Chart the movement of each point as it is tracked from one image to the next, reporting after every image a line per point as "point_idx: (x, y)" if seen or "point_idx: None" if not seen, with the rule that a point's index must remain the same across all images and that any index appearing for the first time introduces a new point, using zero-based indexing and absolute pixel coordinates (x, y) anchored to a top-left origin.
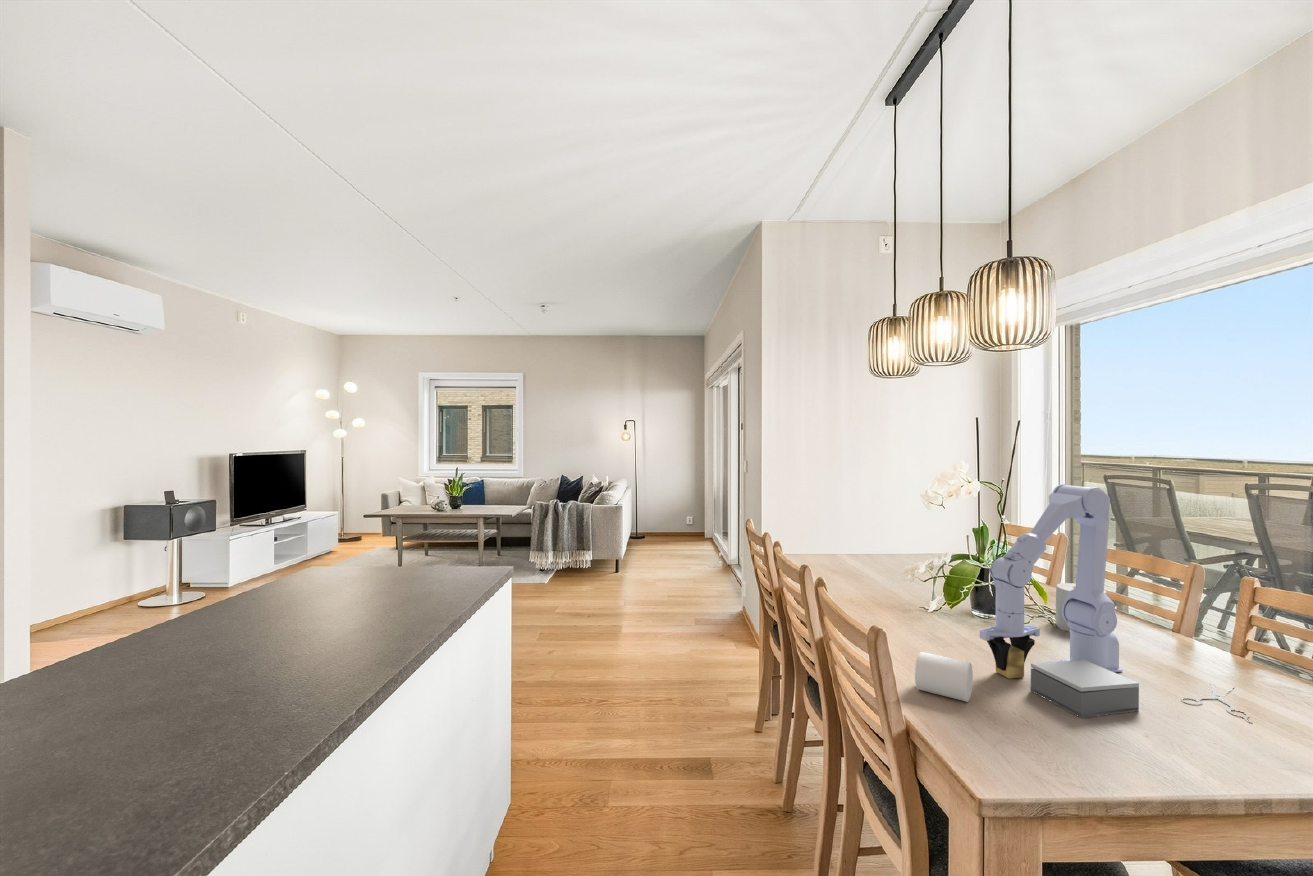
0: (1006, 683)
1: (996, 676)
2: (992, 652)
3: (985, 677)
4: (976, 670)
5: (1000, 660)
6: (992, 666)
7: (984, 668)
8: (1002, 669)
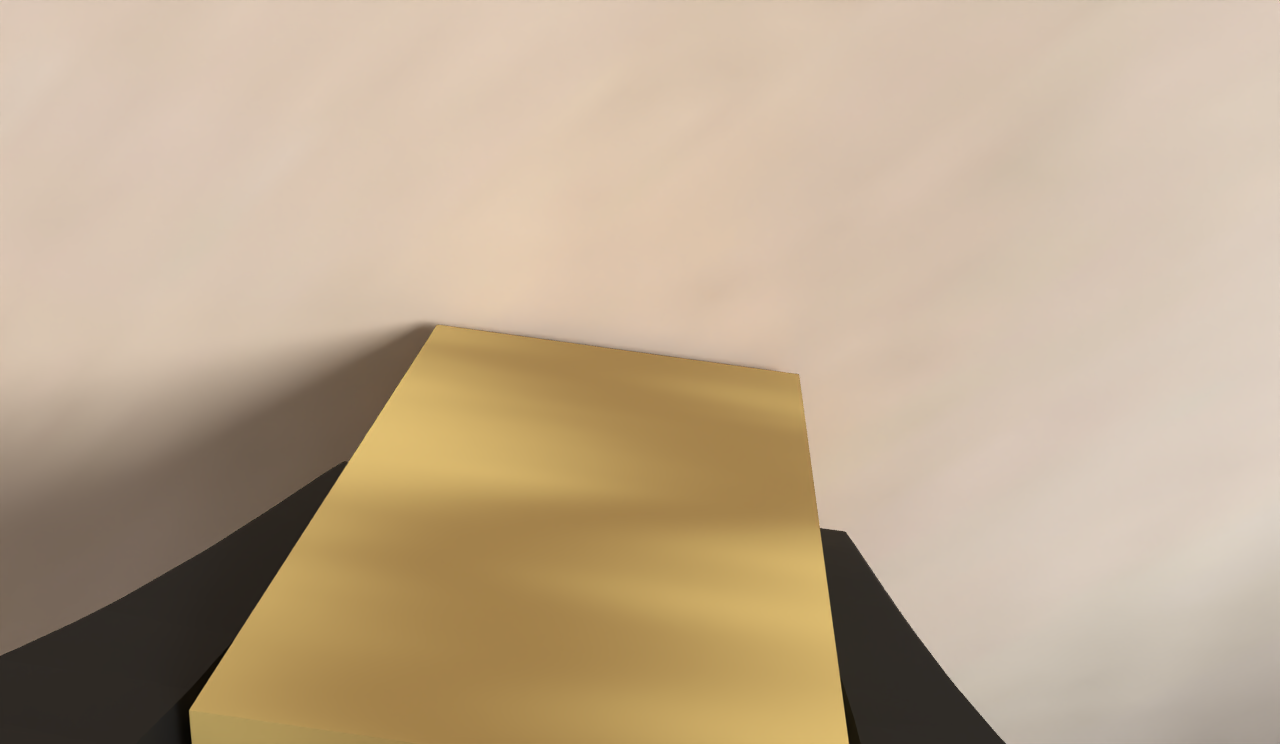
0: None
1: (313, 447)
2: (89, 619)
3: (74, 411)
4: (110, 106)
5: None
6: (641, 53)
7: (365, 81)
8: None
